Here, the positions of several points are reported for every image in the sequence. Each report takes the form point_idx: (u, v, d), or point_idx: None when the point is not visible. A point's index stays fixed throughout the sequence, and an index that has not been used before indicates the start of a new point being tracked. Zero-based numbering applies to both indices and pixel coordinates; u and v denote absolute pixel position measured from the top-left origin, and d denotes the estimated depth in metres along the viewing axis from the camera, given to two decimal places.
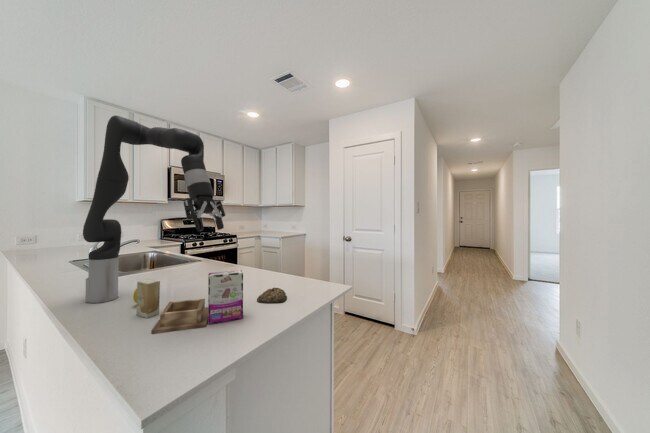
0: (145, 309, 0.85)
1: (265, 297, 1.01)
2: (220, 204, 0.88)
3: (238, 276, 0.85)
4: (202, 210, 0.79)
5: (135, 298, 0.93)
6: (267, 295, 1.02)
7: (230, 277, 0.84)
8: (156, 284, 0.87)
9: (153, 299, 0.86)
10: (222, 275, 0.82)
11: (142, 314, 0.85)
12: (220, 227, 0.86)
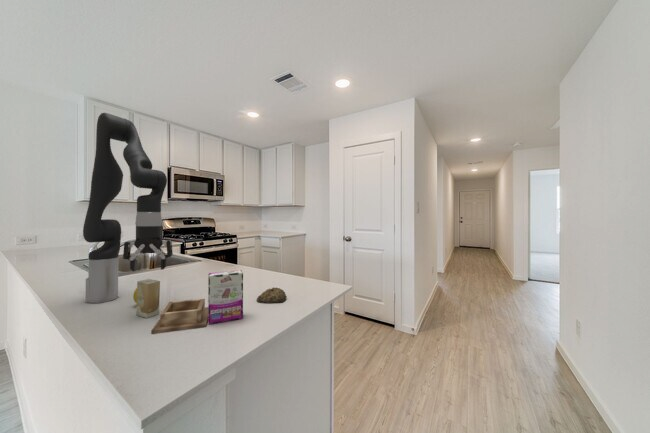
0: (145, 309, 0.85)
1: (265, 297, 1.02)
2: (168, 244, 0.88)
3: (238, 276, 0.85)
4: (136, 253, 0.85)
5: (135, 298, 0.93)
6: (267, 295, 1.02)
7: (230, 277, 0.84)
8: (156, 284, 0.87)
9: (153, 299, 0.86)
10: (222, 275, 0.82)
11: (142, 314, 0.85)
12: None
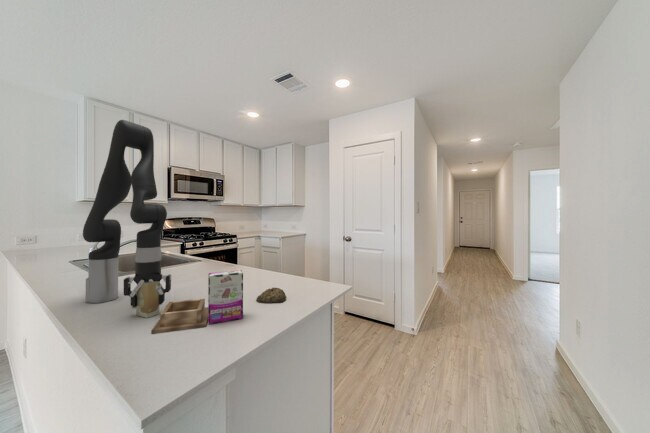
0: (145, 308, 0.85)
1: (265, 297, 1.02)
2: (167, 280, 0.88)
3: (238, 276, 0.85)
4: (136, 289, 0.85)
5: None
6: (266, 295, 1.02)
7: (230, 277, 0.84)
8: None
9: (153, 299, 0.86)
10: (222, 275, 0.82)
11: (142, 314, 0.85)
12: None
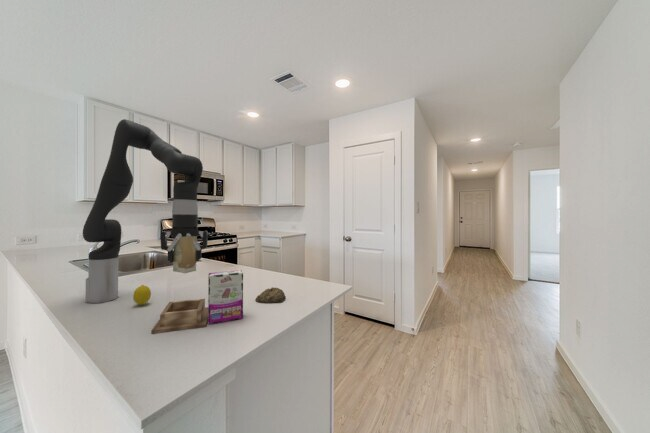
0: (183, 263, 0.80)
1: (264, 297, 1.02)
2: (204, 235, 0.84)
3: (238, 276, 0.85)
4: (174, 243, 0.81)
5: (135, 298, 0.93)
6: (266, 295, 1.02)
7: (230, 277, 0.84)
8: (193, 239, 0.83)
9: (191, 254, 0.82)
10: (222, 275, 0.82)
11: (180, 269, 0.81)
12: None
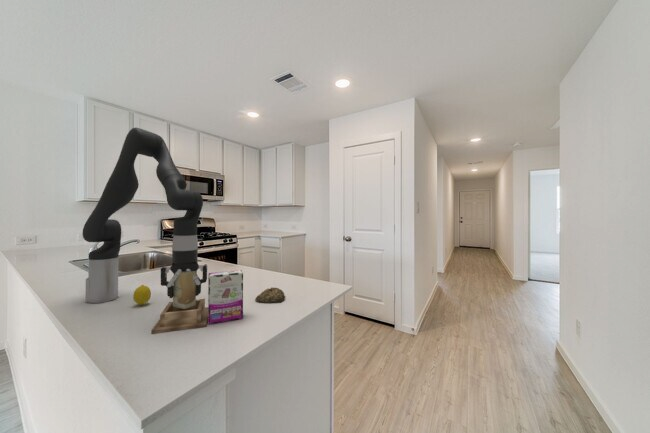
0: (183, 299, 0.81)
1: (264, 297, 1.02)
2: (204, 269, 0.84)
3: (238, 276, 0.85)
4: (173, 279, 0.81)
5: (135, 298, 0.93)
6: (265, 295, 1.02)
7: (230, 277, 0.84)
8: None
9: (191, 290, 0.82)
10: (222, 275, 0.82)
11: (179, 305, 0.81)
12: (196, 293, 0.84)
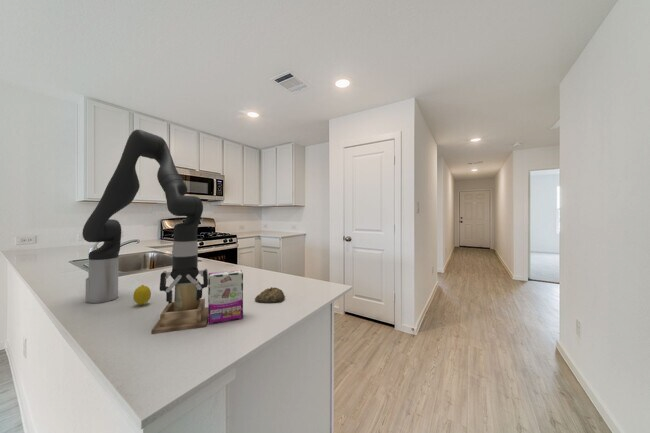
0: None
1: (263, 297, 1.02)
2: (204, 274, 0.84)
3: (238, 276, 0.85)
4: (173, 285, 0.81)
5: (135, 298, 0.93)
6: (265, 295, 1.02)
7: (230, 277, 0.84)
8: (194, 285, 0.83)
9: (191, 301, 0.82)
10: (222, 275, 0.82)
11: None
12: None
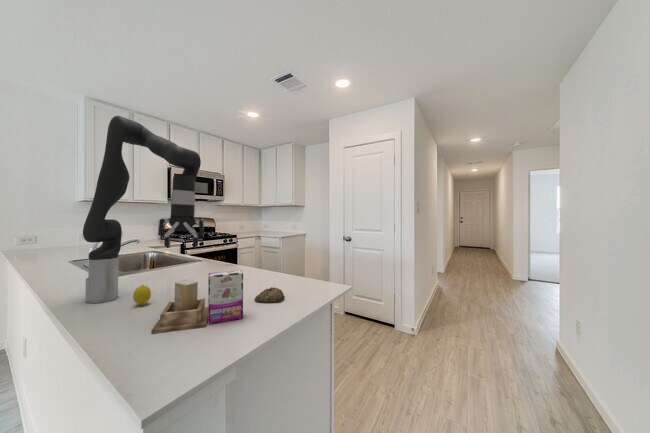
0: None
1: (263, 297, 1.02)
2: (200, 224, 0.90)
3: (238, 276, 0.85)
4: (171, 230, 0.87)
5: (135, 298, 0.93)
6: (264, 295, 1.02)
7: (230, 277, 0.84)
8: (194, 285, 0.83)
9: (191, 301, 0.82)
10: (222, 275, 0.82)
11: None
12: None
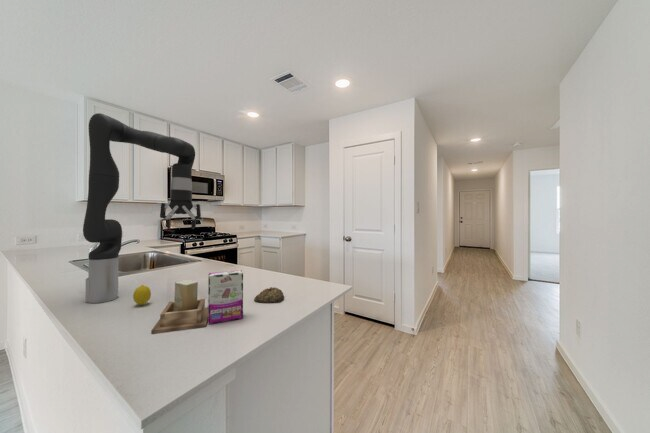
0: None
1: (262, 297, 1.02)
2: (197, 207, 1.01)
3: (238, 276, 0.85)
4: (171, 213, 0.97)
5: (135, 298, 0.93)
6: (264, 295, 1.02)
7: (230, 277, 0.84)
8: (194, 285, 0.83)
9: (191, 301, 0.82)
10: (222, 275, 0.82)
11: None
12: None
